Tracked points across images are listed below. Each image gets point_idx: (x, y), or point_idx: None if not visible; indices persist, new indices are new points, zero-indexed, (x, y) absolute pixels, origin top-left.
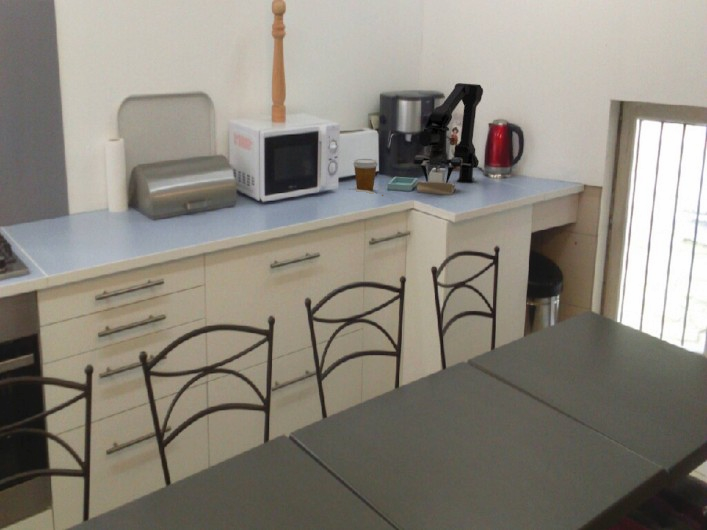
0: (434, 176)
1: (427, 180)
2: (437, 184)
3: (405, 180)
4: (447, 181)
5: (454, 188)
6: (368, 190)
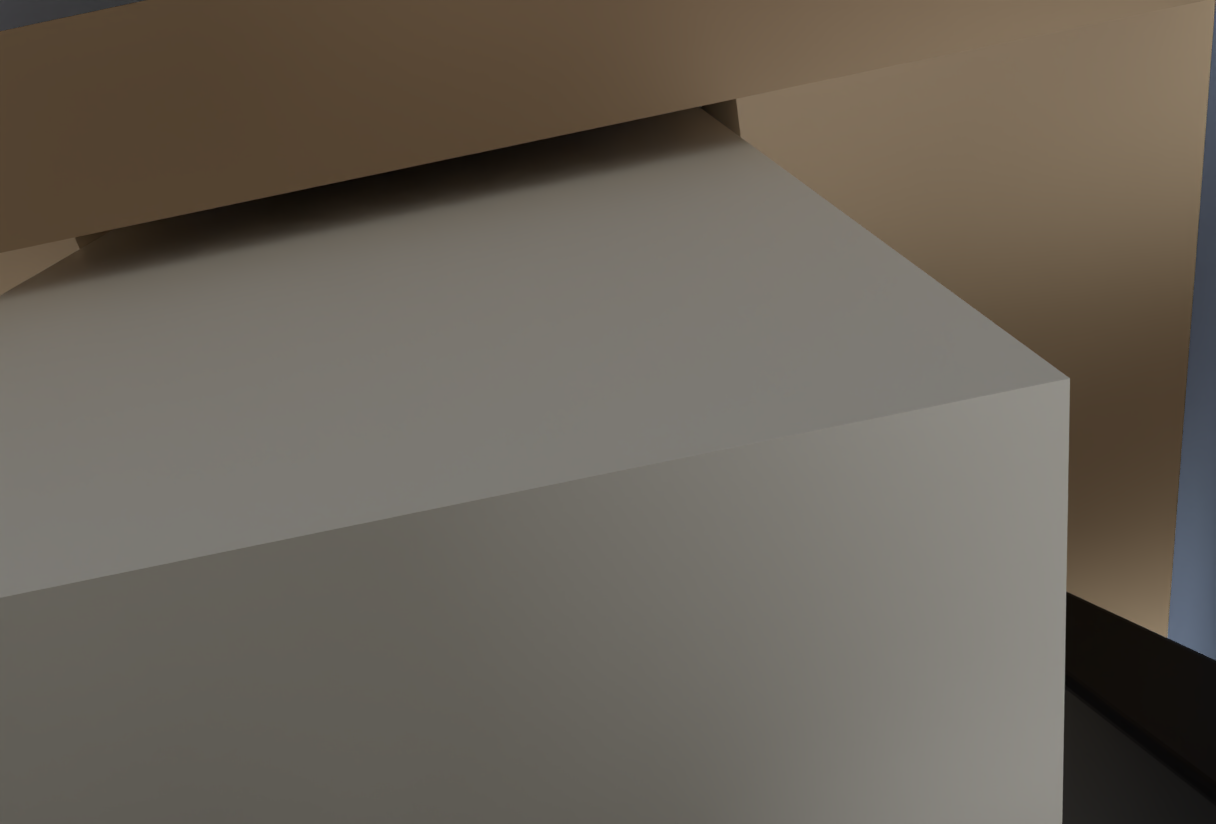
0: (386, 344)
1: None
2: (128, 5)
3: None
4: None
5: None
6: None
